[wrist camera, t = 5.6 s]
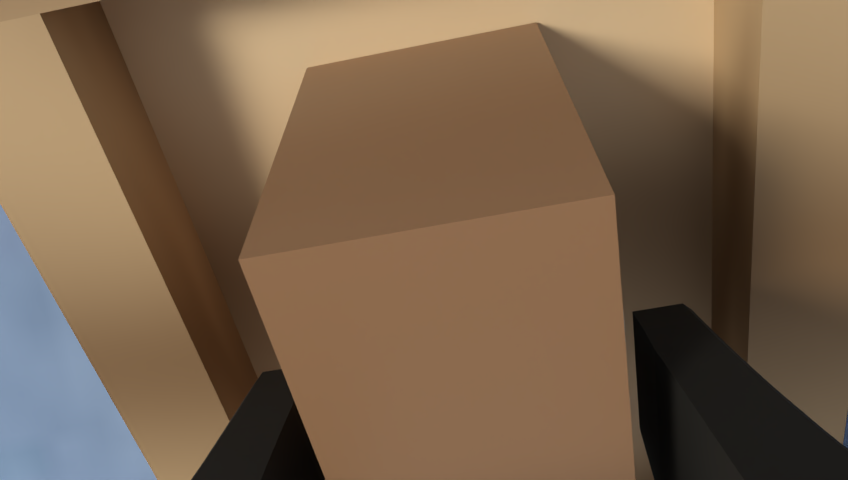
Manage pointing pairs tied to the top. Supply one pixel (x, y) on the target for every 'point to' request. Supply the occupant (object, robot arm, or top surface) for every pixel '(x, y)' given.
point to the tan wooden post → (445, 269)
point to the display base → (387, 31)
